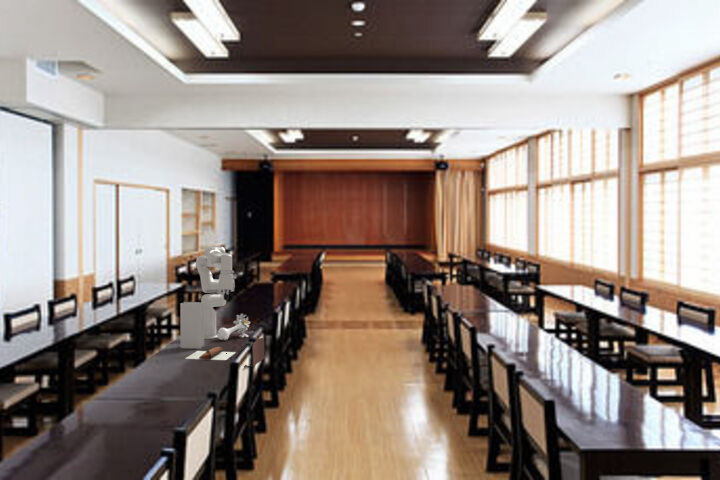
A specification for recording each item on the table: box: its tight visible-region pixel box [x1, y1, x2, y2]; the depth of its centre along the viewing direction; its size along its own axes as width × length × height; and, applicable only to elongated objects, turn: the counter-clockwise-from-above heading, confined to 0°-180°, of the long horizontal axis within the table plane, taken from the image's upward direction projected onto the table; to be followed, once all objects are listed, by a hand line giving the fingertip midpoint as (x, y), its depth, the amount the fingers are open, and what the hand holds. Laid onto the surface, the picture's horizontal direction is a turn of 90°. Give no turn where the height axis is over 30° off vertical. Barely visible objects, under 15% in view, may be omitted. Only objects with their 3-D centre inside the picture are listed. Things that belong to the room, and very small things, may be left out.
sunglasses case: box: [199, 346, 223, 361], centre depth 350 cm, size 18×7×7 cm
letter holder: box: [237, 337, 265, 367], centre depth 337 cm, size 10×20×14 cm, turn 171°
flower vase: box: [216, 313, 251, 341], centre depth 402 cm, size 13×18×25 cm
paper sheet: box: [184, 350, 236, 361], centre depth 352 cm, size 20×26×1 cm
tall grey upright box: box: [179, 301, 205, 350], centre depth 372 cm, size 14×6×30 cm, turn 84°
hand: (226, 299), depth 373 cm, fingers closed
